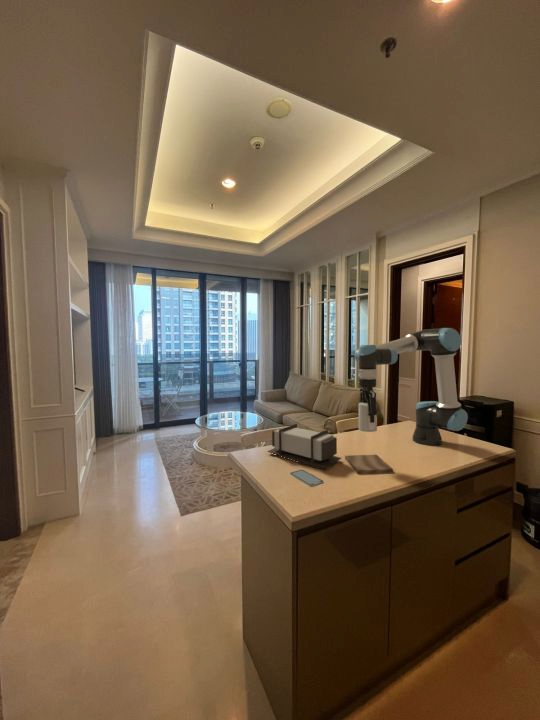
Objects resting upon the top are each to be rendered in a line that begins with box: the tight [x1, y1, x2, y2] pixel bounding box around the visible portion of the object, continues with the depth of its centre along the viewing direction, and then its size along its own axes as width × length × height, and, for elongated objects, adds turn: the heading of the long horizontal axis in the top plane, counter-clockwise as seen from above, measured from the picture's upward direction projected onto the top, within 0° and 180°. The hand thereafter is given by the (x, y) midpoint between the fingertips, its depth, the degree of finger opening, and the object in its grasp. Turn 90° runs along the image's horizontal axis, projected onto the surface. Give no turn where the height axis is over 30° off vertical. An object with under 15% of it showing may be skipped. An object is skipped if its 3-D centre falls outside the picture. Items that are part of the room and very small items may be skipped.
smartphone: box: [289, 469, 324, 487], centre depth 130 cm, size 7×1×15 cm
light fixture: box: [267, 423, 342, 471], centre depth 153 cm, size 15×15×35 cm
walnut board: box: [344, 454, 394, 475], centre depth 142 cm, size 16×18×2 cm
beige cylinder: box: [357, 402, 378, 433], centre depth 141 cm, size 8×8×12 cm
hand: (367, 426), depth 142 cm, fingers closed on beige cylinder, 8 cm apart
